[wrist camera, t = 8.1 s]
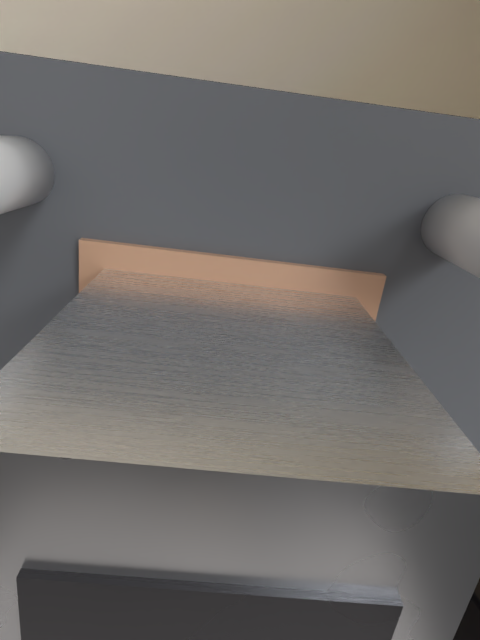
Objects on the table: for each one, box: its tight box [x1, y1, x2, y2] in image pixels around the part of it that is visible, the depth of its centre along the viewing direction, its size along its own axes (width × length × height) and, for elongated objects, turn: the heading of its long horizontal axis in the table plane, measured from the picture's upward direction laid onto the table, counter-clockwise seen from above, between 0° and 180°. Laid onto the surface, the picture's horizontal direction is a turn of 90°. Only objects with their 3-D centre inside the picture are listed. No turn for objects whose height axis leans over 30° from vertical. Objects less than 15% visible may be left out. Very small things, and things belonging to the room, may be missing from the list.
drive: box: [0, 269, 480, 640], centre depth 8 cm, size 5×9×6 cm, turn 173°
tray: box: [0, 51, 480, 453], centre depth 10 cm, size 13×16×4 cm
